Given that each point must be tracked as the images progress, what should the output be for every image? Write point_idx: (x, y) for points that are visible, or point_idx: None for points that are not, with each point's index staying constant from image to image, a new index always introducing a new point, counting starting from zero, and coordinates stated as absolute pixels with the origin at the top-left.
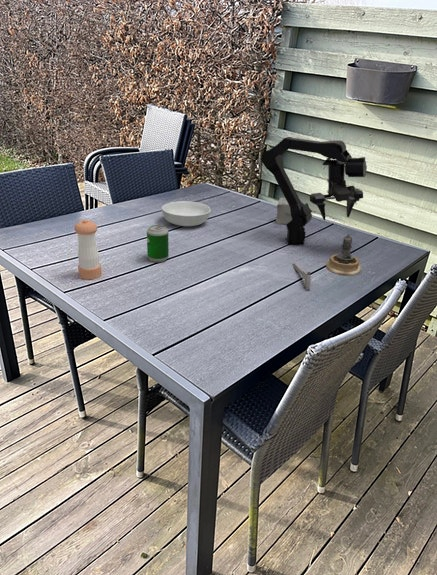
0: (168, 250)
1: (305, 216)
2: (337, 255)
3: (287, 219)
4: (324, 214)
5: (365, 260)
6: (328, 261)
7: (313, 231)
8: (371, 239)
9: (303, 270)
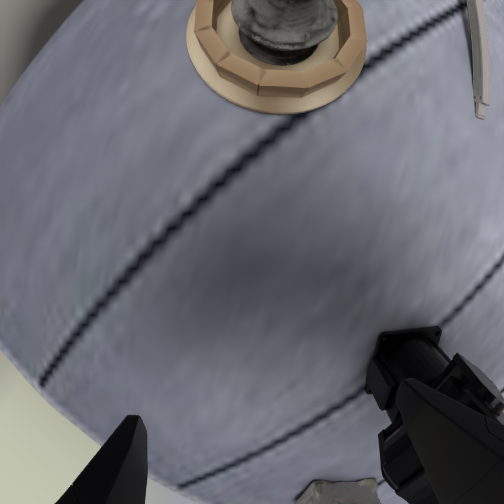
0: None
1: (485, 413)
2: (332, 18)
3: (348, 493)
4: (451, 411)
5: (117, 136)
6: (347, 85)
7: (272, 454)
8: (56, 375)
9: None
